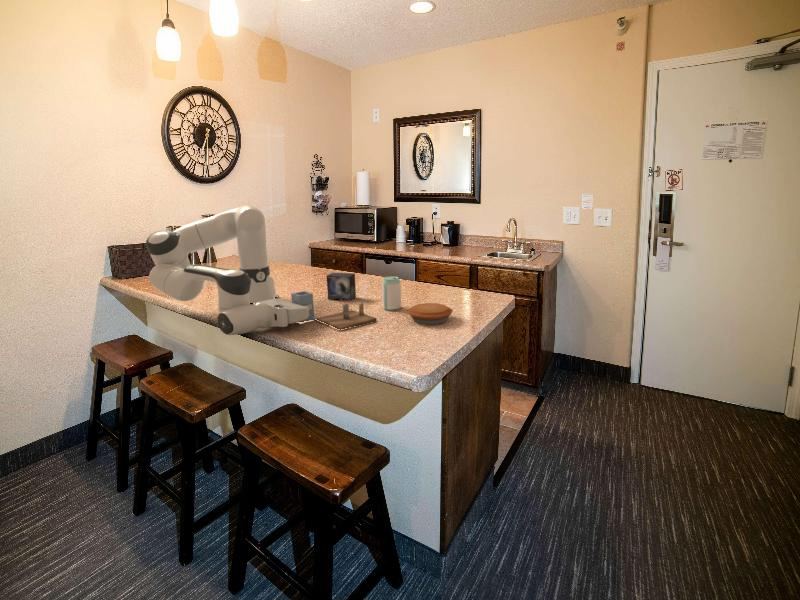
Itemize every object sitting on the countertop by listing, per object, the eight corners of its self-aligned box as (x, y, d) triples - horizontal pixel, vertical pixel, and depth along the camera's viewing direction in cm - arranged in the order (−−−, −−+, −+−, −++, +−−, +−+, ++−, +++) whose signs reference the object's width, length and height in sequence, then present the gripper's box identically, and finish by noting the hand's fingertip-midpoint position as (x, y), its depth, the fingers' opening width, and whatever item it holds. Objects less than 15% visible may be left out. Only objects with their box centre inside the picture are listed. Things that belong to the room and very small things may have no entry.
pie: (449, 313, 164) (449, 300, 163) (455, 326, 149) (455, 311, 148) (406, 314, 164) (406, 301, 163) (409, 328, 149) (408, 313, 148)
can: (390, 305, 177) (389, 275, 174) (404, 307, 173) (404, 277, 170) (378, 309, 172) (377, 278, 169) (392, 312, 167) (392, 280, 164)
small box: (327, 300, 188) (325, 275, 185) (333, 296, 194) (332, 272, 191) (350, 301, 185) (349, 276, 182) (356, 297, 191) (355, 273, 188)
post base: (316, 321, 158) (315, 304, 156) (352, 313, 167) (351, 296, 166) (340, 331, 147) (338, 312, 145) (376, 321, 156) (376, 304, 155)
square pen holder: (289, 320, 160) (287, 293, 158) (308, 316, 165) (306, 290, 162) (299, 324, 155) (297, 297, 152) (318, 320, 159) (316, 293, 157)
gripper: (255, 316, 157) (289, 308, 167) (286, 328, 143) (322, 318, 153) (253, 299, 156) (288, 291, 165) (284, 309, 142) (321, 300, 151)
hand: (304, 304), depth 159 cm, fingers closed on square pen holder, 6 cm apart
